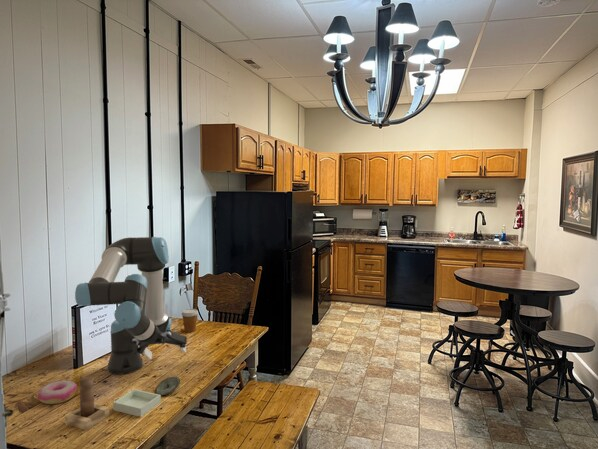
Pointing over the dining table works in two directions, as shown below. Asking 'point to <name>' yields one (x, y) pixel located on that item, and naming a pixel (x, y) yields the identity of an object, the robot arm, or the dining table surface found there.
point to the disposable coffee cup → (189, 320)
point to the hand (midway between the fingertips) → (168, 353)
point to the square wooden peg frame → (86, 423)
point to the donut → (57, 392)
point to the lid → (167, 385)
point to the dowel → (86, 397)
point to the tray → (137, 402)
